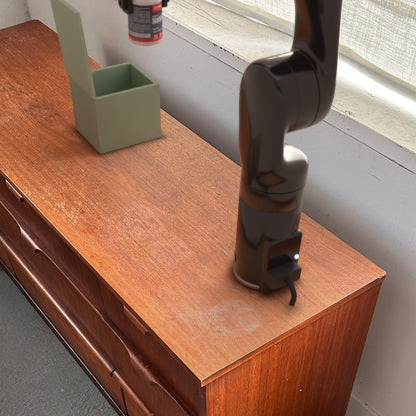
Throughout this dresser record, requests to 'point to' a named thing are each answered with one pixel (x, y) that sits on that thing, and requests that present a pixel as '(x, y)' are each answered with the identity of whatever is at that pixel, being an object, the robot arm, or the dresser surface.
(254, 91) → the robot arm
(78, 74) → the lid
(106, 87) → the chest
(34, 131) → the dresser surface
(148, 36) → the pill bottle
